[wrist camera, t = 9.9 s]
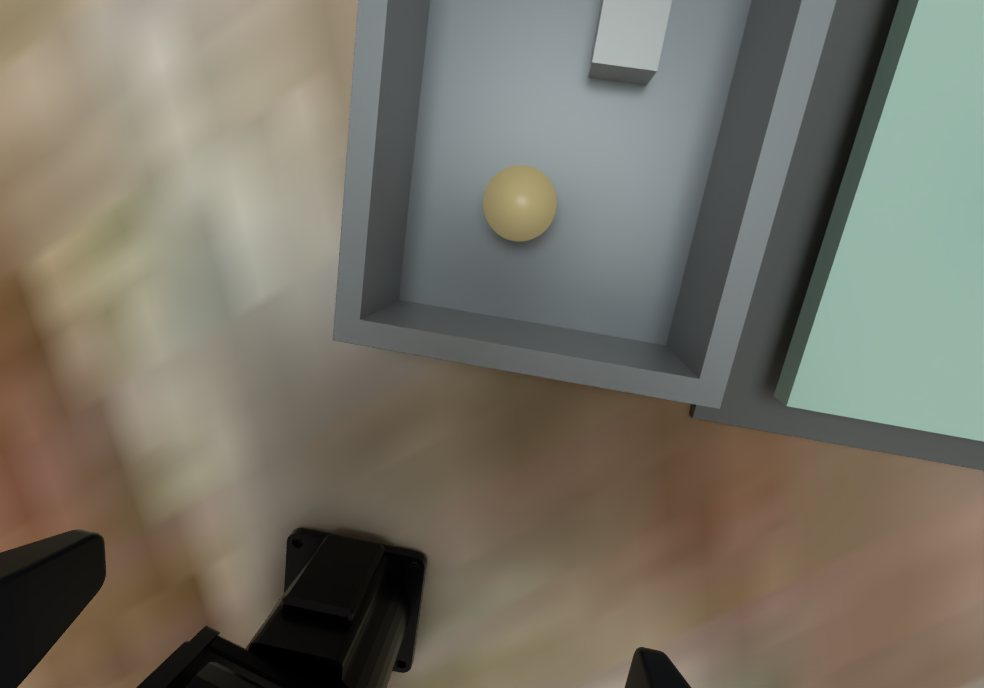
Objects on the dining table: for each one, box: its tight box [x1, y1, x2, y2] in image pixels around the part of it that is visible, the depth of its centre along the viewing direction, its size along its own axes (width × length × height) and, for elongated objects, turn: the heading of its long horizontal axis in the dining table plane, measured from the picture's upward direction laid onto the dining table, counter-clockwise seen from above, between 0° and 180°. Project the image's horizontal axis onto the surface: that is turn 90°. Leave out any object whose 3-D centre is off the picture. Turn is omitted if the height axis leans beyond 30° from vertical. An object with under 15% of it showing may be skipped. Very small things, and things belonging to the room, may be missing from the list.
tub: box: [333, 0, 836, 409], centre depth 16 cm, size 16×12×5 cm
